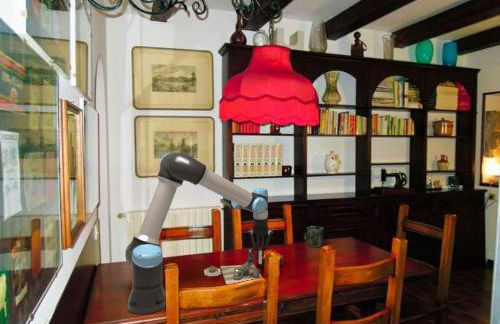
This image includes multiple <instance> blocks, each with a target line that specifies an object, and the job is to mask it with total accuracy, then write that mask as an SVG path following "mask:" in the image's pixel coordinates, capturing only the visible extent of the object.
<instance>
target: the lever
mask: <svg viewBox="0 0 500 324" xmlns="http://www.w3.org/2000/svg"><path fill="white" fill-rule="evenodd" d="M254 261H255V250H254V249H253V248H248V249H247V261H246V262H245V263H243V264H241V265H242V266H241V267H239V268H235V269H234V272H233V275H234V276H239V275H240V274H242V273H243V276H247V275H249V274H248V271H249V267H251V266H252V265H254Z"/></svg>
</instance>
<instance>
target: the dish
mask: <svg viewBox="0 0 500 324" xmlns="http://www.w3.org/2000/svg"><path fill="white" fill-rule="evenodd" d="M215 268H216V271H215V272H214V273H210V272H209V267H207V268H206V269H203V273H204V276H207V277H216V276H217V277H218V276H219V275H222V270H221V268H217V267H215Z"/></svg>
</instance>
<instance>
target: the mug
mask: <svg viewBox="0 0 500 324" xmlns="http://www.w3.org/2000/svg"><path fill="white" fill-rule="evenodd" d="M306 229H307V232H304V237H303V238H304V241H305V242H306V244H307V247H309V248H313V247H320V248H322V247H323V246H324V229H325V228H324V226H317V225H311V226H310V225H309V226H307V227H306Z"/></svg>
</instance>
